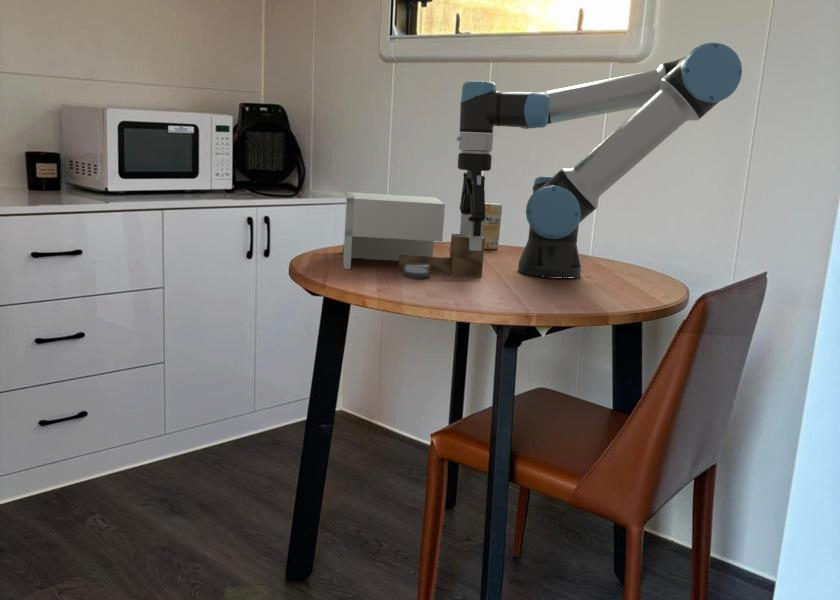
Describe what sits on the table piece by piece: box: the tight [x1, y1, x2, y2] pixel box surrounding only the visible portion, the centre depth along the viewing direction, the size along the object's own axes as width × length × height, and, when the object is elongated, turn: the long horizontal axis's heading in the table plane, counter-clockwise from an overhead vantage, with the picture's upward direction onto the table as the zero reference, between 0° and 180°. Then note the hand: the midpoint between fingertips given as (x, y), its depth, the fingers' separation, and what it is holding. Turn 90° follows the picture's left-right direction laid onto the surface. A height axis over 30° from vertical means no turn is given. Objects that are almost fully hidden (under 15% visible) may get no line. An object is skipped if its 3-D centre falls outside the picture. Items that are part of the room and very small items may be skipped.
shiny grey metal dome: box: [402, 262, 431, 281], centre depth 177 cm, size 6×6×3 cm
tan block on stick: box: [398, 233, 485, 278], centre depth 183 cm, size 19×5×9 cm, turn 96°
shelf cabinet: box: [342, 191, 446, 270], centre depth 188 cm, size 22×16×16 cm
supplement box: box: [469, 202, 503, 251], centre depth 227 cm, size 8×5×13 cm, turn 102°
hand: (470, 246), depth 183 cm, fingers open, 13 cm apart
